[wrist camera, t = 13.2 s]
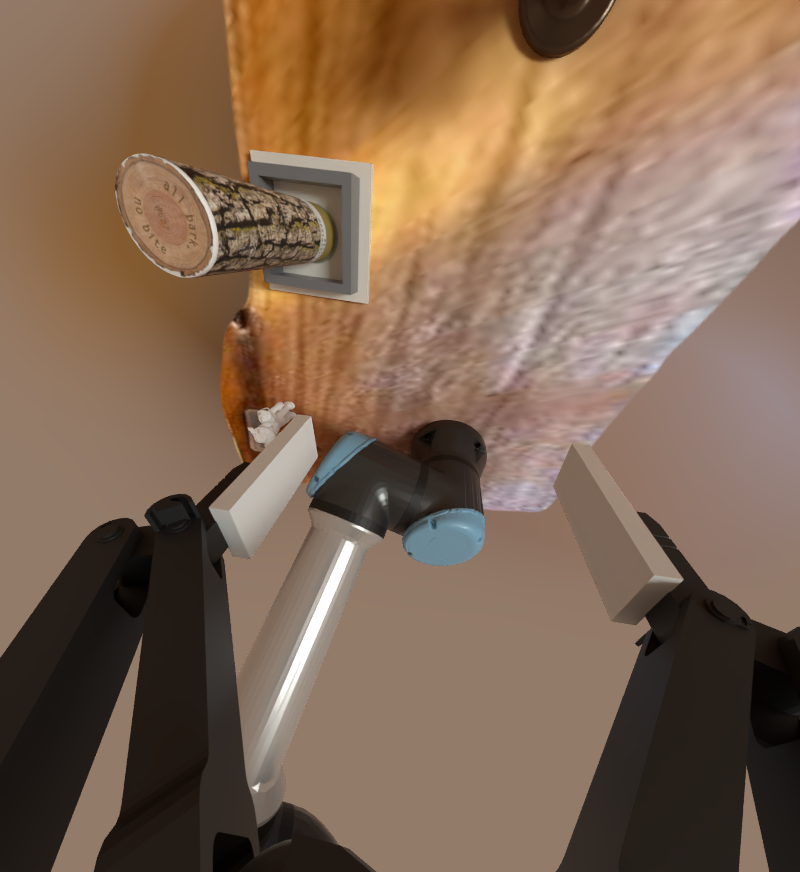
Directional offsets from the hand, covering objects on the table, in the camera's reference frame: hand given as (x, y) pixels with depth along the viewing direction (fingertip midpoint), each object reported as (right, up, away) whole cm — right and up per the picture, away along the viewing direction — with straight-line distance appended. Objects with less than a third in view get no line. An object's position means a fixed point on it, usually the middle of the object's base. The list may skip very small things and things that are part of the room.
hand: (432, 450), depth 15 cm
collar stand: (-14, +30, +26) cm, 42 cm away
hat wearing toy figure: (-25, +6, +45) cm, 51 cm away
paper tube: (-14, +29, +25) cm, 41 cm away
